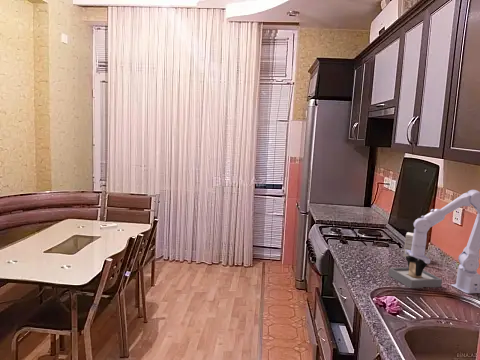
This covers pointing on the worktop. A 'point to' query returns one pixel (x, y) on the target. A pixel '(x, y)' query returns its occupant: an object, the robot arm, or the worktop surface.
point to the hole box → (404, 278)
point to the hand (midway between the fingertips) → (414, 273)
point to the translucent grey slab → (428, 254)
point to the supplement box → (408, 242)
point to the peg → (413, 270)
